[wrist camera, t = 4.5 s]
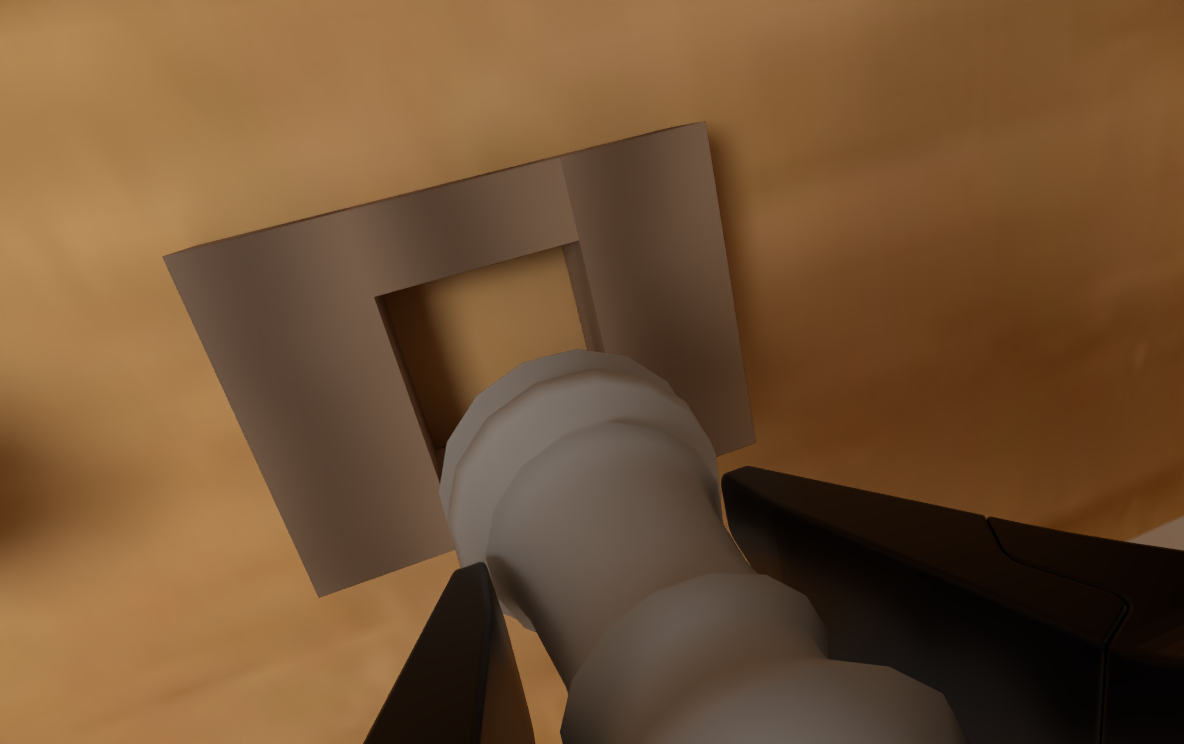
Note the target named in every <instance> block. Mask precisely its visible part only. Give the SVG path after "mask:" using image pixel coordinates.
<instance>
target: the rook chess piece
mask: <svg viewBox="0 0 1184 744" xmlns="http://www.w3.org/2000/svg"><path fill="white" fill-rule="evenodd" d="M439 496H440V499H441V503H442V506H443V510H444V513H445V516H446V520H447V523H448V527H449V530H450V534H451V537H452V540H453V543H454V546H455V550H456V553H457V557H458V560H459V563H460V567H461V568H463V567H466V566H469V565H471V564H474V563H477V562H484V563H485V564H486V566H487V568H488V571H489V574H490V577H491V580H492V583H493V586H494V589H495V592H496V595H497V598H498V601H499V604H500V607H501V610H502V613H503V614H506V615H508V616H511V617H513V618H516V619H517V620H518V621H519V622H520V623H521V624H522V625H523V626H524V627H525V628H527V629H529V630H532V631H534V632H537V634H538V636H539V638H540V639H541V641H542V643H543V645H544V647H545V649H546V651H547V652H548V654H549V656H550V658H551V660H552V662H553V664H554V665H555V667H556V669H557V671H558V673H559V675H560V677H561V679H562V680H563V682H564V684H565V686H566V689H567V692H568V699H567V703H566V708H565V712H564V716H563V721H562V725H561V730H560V734H561V738H562V742H563V744H969V740H968V738H967V736H966V735H965V733H964V731H963V729H962V727H961V726H960V724H959V722H958V720H957V718H956V717H955V715H954V713H953V711H952V709H951V708H950V706H949V704H948V702H947V700H946V699H945V697H944V695H943V693H941V692H939V691H937V690H935V689H933V688H931V687H929V686H927V685H925V684H923V683H921V682H919V681H917V680H915V679H913V678H911V677H909V676H907V675H905V674H903V673H901V672H899V671H897V670H895V669H893V668H891V667H887V666H879V665H871V664H862V663H854V662H846V661H837V660H830V648H829V634H828V630H827V628H826V626H825V625H824V623H823V622H822V620H821V619H820V617H819V615H818V614H817V612H816V611H815V609H814V607H813V606H812V604H811V603H810V601H809V600H808V598H807V596H806V595H804V594H802V593H800V592H798V591H796V590H794V589H792V588H791V587H789V586H787V585H785V584H783V583H781V582H779V581H777V580H775V579H773V578H771V577H770V576H768V575H760V574H757V572H756V571H755V570H754V569H753V568H752V567H751V566H750V565H749V564H748V562H747V561H746V560H745V559H744V557H743V556H742V554H741V552H740V551H739V549H738V547H737V546H736V544H735V543H734V541H733V539H732V538H731V536H730V534H729V533H728V531H727V530H726V528H725V526H724V525H723V519H722V511H721V503H720V501H721V493H720V485H719V477H718V469H717V462H716V454H715V451H714V449H713V446H712V443H711V441H710V439H709V438H708V436H707V435H706V433H705V431H704V430H703V428H702V427H701V425H700V423H699V422H698V420H697V419H696V417H695V415H694V414H693V412H692V411H691V409H690V408H689V406H688V404H687V403H686V401H684V400H683V399H681V398H679V397H678V396H676V394H675V393H674V391H673V390H672V388H671V386H670V385H669V383H668V382H667V381H665V380H664V379H662V378H661V377H659V376H658V375H656V374H654V373H653V372H651V371H650V370H648V369H647V368H645V367H643V366H642V365H640V364H639V363H637V362H635V361H634V360H632V359H631V358H629V357H628V356H622V355H615V354H608V353H601V352H594V351H587V350H580V349H574V350H570V351H566V352H562V353H558V354H554V355H551V356H547V357H543V358H539V359H535V360H531V361H527V362H523V363H521V364H520V365H519V366H517V367H516V368H514V369H513V370H512V371H510V372H509V373H507V374H506V375H505V376H503V377H502V378H501V379H499V380H498V381H496V382H495V383H494V384H492V385H491V386H489V387H488V388H487V389H485V390H484V391H482V392H481V393H480V394H478V395H477V396H476V397H475V399H474V401H473V402H472V404H471V405H470V407H469V408H468V410H467V412H466V413H465V415H464V416H463V418H462V419H461V421H460V423H459V424H458V426H457V427H456V429H455V430H454V432H453V433H452V435H451V437H450V438H449V440H448V441H447V445H446V451H445V457H444V464H443V470H442V476H441V482H440V488H439Z"/></svg>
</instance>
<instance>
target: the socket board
mask: <svg viewBox="0 0 1184 744" xmlns="http://www.w3.org/2000/svg"><path fill="white" fill-rule="evenodd" d="M560 245H562V248H563V252H564V256H565V260H566V264H567V268H568V273H569V277H570V281H571V285H572V289H573V293H574V297H575V301H576V305H577V309H578V314H579V318H580V322H581V326H582V330H583V334H584V338H585V342H586V346H587V350H588V351H594V352H601V353H608V354H615V355H622V356H628V357H629V358H631V359H632V360H634V361H635V362H637V363H639V364H640V365H642V366H643V367H645V368H647V369H648V370H650V371H651V372H653V373H654V374H656V375H658V376H659V377H661V378H662V379H664V380H665V381H667V382H668V383H669V385H670V386H671V388H672V390H673V391H674V393H675V394H676V396H678V397H679V398H681V399H683V400H684V401H686V403H687V404H688V406H689V408H690V409H691V411H692V412H693V414H694V415H695V417H696V419H697V420H698V422H699V423H700V425H701V427H702V428H703V430H704V431H705V433H706V435H707V436H708V438H709V439H710V441H711V443H712V446H713V449H714V451H715V454H716V457H717V456H720V455H723V454H726V453H728V452H731V451H734V450H737V449H740V448H743V447H745V446H748V445H751V444H754V443H756V440H755V433H754V427H753V420H752V414H751V408H750V401H749V395H748V389H747V382H746V376H745V370H744V363H743V357H742V350H741V344H740V338H739V331H738V325H737V319H736V312H735V306H734V300H733V293H732V287H731V280H730V274H729V268H728V261H727V255H726V249H725V242H724V236H723V229H722V223H721V217H720V210H719V204H718V198H717V191H716V185H715V179H714V172H713V166H712V159H711V153H710V147H709V140H708V134H707V128H706V121H703V122H698V123H692V124H687V125H682V126H676V127H671V128H667V129H663V130H659V131H655V132H651V133H647V134H643V135H639V136H635V137H631V138H627V139H623V140H619V141H615V142H611V143H607V144H603V145H599V146H594V147H590V148H586V149H582V150H578V151H574V152H570V153H566V154H562V155H558V156H554V157H550V158H546V159H542V160H538V161H534V162H530V163H526V164H522V165H518V166H514V167H510V168H506V169H502V170H498V171H494V172H490V173H486V174H482V175H478V176H474V177H470V178H466V179H462V180H458V181H454V182H450V183H446V184H442V185H438V186H434V187H430V188H426V189H422V190H418V191H414V192H410V193H406V194H402V195H398V196H394V197H390V198H386V199H382V200H378V201H374V202H370V203H366V204H362V205H358V206H354V207H350V208H346V209H342V210H337V211H333V212H329V213H325V214H321V215H317V216H313V217H309V218H305V219H301V220H297V221H293V222H289V223H285V224H281V225H277V226H273V227H269V228H265V229H261V230H257V231H253V232H249V233H245V234H241V235H237V236H233V237H229V238H225V239H221V240H217V241H213V242H209V243H205V244H201V245H197V246H193V247H190V248H187V249H184V250H181V251H178V252H175V253H172V254H169V255H166V256H163V259H164V261H165V264H166V266H167V268H168V270H169V272H170V274H171V277H172V279H173V281H174V283H175V285H176V288H177V290H178V292H179V294H180V296H181V298H182V301H183V303H184V305H185V307H186V309H187V312H188V314H189V316H190V318H191V320H192V322H193V325H194V327H195V329H196V331H197V333H198V336H199V338H200V340H201V342H202V344H203V346H204V349H205V351H206V353H207V355H208V357H209V359H210V362H211V364H212V366H213V368H214V370H215V373H216V375H217V377H218V379H219V381H220V383H221V386H222V388H223V390H224V392H225V394H226V397H227V399H228V401H229V403H230V405H231V407H232V410H233V412H234V414H235V416H236V418H237V421H238V423H239V425H240V427H241V429H242V431H243V434H244V436H245V438H246V440H247V442H248V444H249V447H250V449H251V451H252V453H253V455H254V458H255V460H256V462H257V464H258V466H259V468H260V471H261V473H262V475H263V477H264V479H265V482H266V484H267V486H268V488H269V490H270V492H271V495H272V497H273V499H274V501H275V503H276V506H277V508H278V510H279V512H280V514H281V516H282V519H283V521H284V523H285V525H286V527H287V529H288V532H289V534H290V536H291V538H292V540H293V543H294V545H295V547H296V549H297V551H298V553H299V556H300V558H301V560H302V562H303V564H304V567H305V569H306V571H307V573H308V575H309V577H310V580H311V582H312V584H313V586H314V588H315V591H316V593H317V595H318V597H319V598H320V597H323V596H326V595H329V594H331V593H334V592H337V591H340V590H343V589H345V588H348V587H351V586H354V585H357V584H360V583H362V582H365V581H368V580H371V579H374V578H376V577H379V576H382V575H385V574H388V573H390V572H393V571H396V570H399V569H402V568H405V567H407V566H410V565H413V564H416V563H419V562H421V561H424V560H427V559H430V558H433V557H436V556H438V555H441V554H444V553H447V552H450V551H452V550H455V546H454V543H453V540H452V537H451V534H450V530H449V527H448V523H447V520H446V516H445V513H444V510H443V506H442V503H441V499H440V496H439V488H440V482H441V476H442V470H443V464H444V457H445V451H446V447H443V448H440V449H437V450H436V449H435V446H434V443H433V440H432V438H431V435H430V432H429V429H428V426H427V423H426V420H425V418H424V415H423V412H422V409H421V406H420V403H419V400H418V397H417V395H416V392H415V389H414V386H413V383H412V380H411V377H410V374H409V372H408V369H407V366H406V363H405V360H404V357H403V354H402V352H401V349H400V346H399V343H398V340H397V337H396V334H395V331H394V329H393V326H392V323H391V320H390V317H389V314H388V311H387V309H386V306H385V303H384V300H383V297H382V295H383V294H386V293H390V292H394V291H397V290H401V289H405V288H408V287H412V286H415V285H419V284H423V283H426V282H430V281H434V280H437V279H441V278H444V277H448V276H452V275H455V274H459V273H463V272H466V271H470V270H473V269H477V268H481V267H484V266H488V265H492V264H495V263H499V262H502V261H506V260H510V259H513V258H517V257H521V256H524V255H528V254H531V253H535V252H539V251H542V250H546V249H550V248H553V247H557V246H560Z"/></svg>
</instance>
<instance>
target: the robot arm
mask: <svg viewBox="0 0 1184 744" xmlns="http://www.w3.org/2000/svg"><path fill="white" fill-rule="evenodd" d="M721 487H722V493H723V498H724V504H725V509H726V515H727V521H728V526H729V529H730V532H731V534H732V536H733V538H734V540H735V542H736V543H737V545H738V546H739V548H740V550H741V551H742V553H743V554H744V556H745V557H746V559H747V560H748V562H749V563H750V565H751V567H752V568H753V569H754V570H755V571H756V572H757V574H760V575H768V576H770V577H771V578H773V579H775V580H777V581H779V582H781V583H783V584H785V585H787V586H789V587H791V588H792V589H794V590H796V591H798V592H800V593H802V594H804V595H806V596H807V598H808V600H809V601H810V603H811V604H812V606H813V607H814V609H815V611H816V612H817V614H818V615H819V617H820V619H821V620H822V622H823V623H824V625H825V626H826V628H827V630H828V634H829V648H830V660H837V661H846V662H854V663H862V664H871V665H879V666H887V667H891V668H893V669H895V670H897V671H899V672H901V673H903V674H905V675H907V676H909V677H911V678H913V679H915V680H917V681H919V682H921V683H923V684H925V685H927V686H929V687H931V688H933V689H935V690H937V691H939V692H941V693H943V695H944V697H945V699H946V700H947V702H948V704H949V706H950V708H951V709H952V711H953V713H954V715H955V717H956V718H957V720H958V722H959V724H960V726H961V727H962V729H963V731H964V733H965V735H966V736H967V738H968V740H969V744H1184V551H1183V550H1176V549H1169V548H1163V547H1157V546H1150V545H1144V544H1136V543H1130V542H1124V541H1118V540H1112V539H1106V538H1100V537H1094V536H1088V535H1082V534H1075V533H1070V532H1064V531H1059V530H1054V529H1049V528H1044V527H1039V526H1033V525H1028V524H1023V523H1018V522H1014V521H1009V520H1004V519H1000V518H995V517H988V518H987V520H986V518H985V517H984V516H983V515H980V514H975V513H971V512H966V511H961V510H956V509H952V508H947V507H942V506H937V505H932V504H928V503H923V502H918V501H913V500H909V499H904V498H899V497H894V496H890V495H885V494H880V493H875V492H870V491H866V490H861V489H856V488H851V487H847V486H842V485H837V484H832V483H828V482H823V481H818V480H813V479H809V478H804V477H799V476H794V475H789V474H785V473H780V472H775V471H770V470H766V469H761V468H756V467H751V466H745V467H742V468H739V469H736V470H733V471H731V472H728V473H726V474H724V475H723V477H722V479H721ZM363 744H535V738H534V732H533V727H532V722H531V718H530V713H529V709H528V706H527V702H526V698H525V694H524V690H523V687H522V683H521V679H520V675H519V671H518V668H517V664H516V660H515V656H514V653H513V649H512V645H511V641H510V637H509V634H508V630H507V626H506V623H505V619H504V616H503V613H502V610H501V607H500V604H499V601H498V598H497V595H496V592H495V589H494V586H493V583H492V580H491V577H490V574H489V571H488V568H487V566H486V564H485V563H484V562H477V563H474V564H471V565H469V566H466V567H463V568H460V569H457V570H456V571H455V572H454V573H453V574H452V576H451V578H450V580H449V582H448V584H447V585H446V587H445V589H444V591H443V593H442V595H441V597H440V599H439V601H438V603H437V604H436V606H435V608H434V610H433V612H432V614H431V616H430V618H429V620H428V621H427V623H426V625H425V627H424V629H423V631H422V633H421V635H420V637H419V638H418V640H417V642H416V644H415V646H414V648H413V650H412V652H411V654H410V656H409V657H408V659H407V661H406V663H405V665H404V667H403V669H402V671H401V673H400V674H399V676H398V678H397V680H396V682H395V684H394V686H393V688H392V690H391V691H390V693H389V695H388V697H387V699H386V701H385V703H384V705H383V707H382V709H381V710H380V712H379V714H378V716H377V718H376V720H375V722H374V724H373V726H372V727H371V729H370V731H369V733H368V735H367V737H366V739H365V741H364V743H363Z"/></svg>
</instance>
